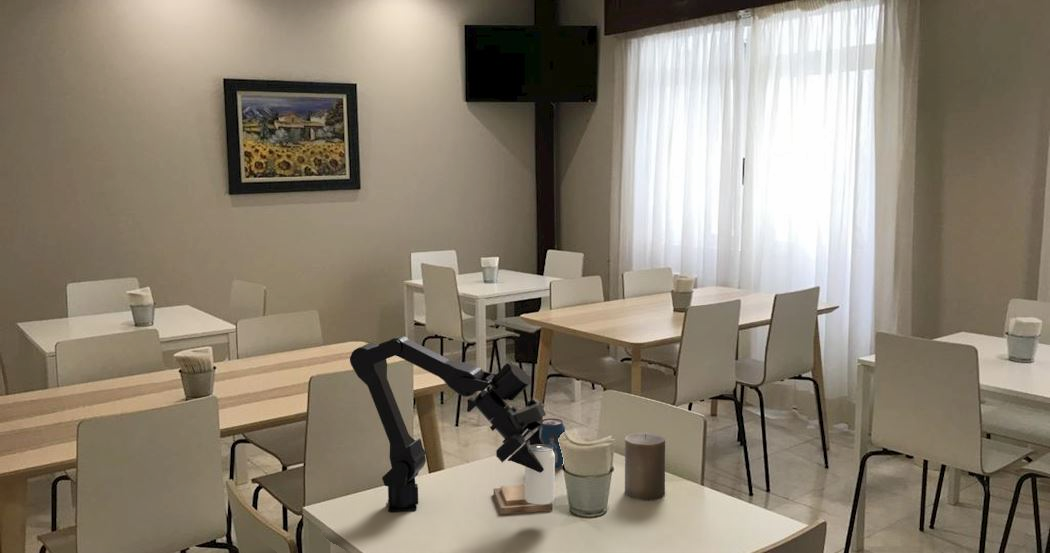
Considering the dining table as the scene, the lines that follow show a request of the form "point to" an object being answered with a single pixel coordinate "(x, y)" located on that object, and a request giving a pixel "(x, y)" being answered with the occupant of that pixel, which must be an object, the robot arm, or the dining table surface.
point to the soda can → (553, 437)
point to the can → (541, 477)
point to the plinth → (516, 500)
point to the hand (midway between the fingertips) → (546, 466)
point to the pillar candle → (645, 466)
